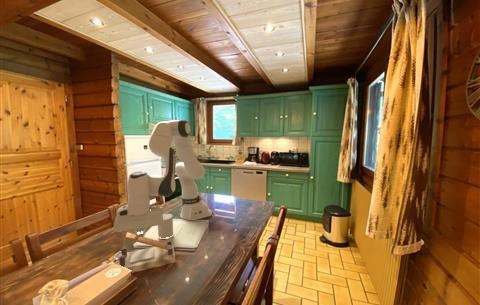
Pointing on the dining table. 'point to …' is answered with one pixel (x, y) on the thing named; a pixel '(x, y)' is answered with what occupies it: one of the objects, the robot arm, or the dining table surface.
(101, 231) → the dining table surface
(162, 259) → the latch board
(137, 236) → the robot arm
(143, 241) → the brown wooden bar
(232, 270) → the dining table surface
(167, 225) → the cup
